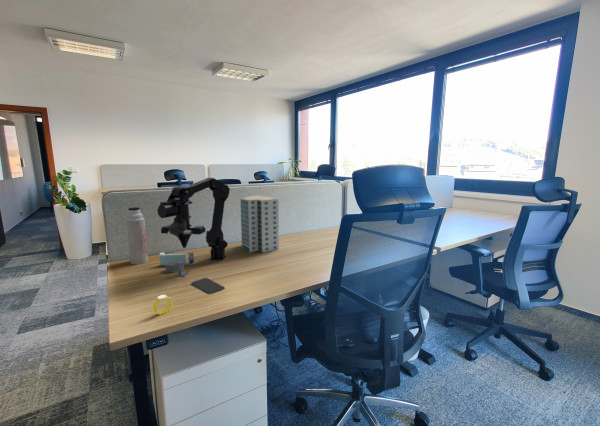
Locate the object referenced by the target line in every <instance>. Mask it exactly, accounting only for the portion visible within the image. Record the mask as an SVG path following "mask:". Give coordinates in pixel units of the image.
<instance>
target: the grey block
mask: <svg viewBox="0 0 600 426" xmlns="http://www.w3.org/2000/svg"><path fill="white" fill-rule="evenodd" d="M177 268H178V270H177V275H176V276H177V277H185V276H187V275H188V274H189V271H186V270H185V264H184V261H179V262H178V263H177Z"/></svg>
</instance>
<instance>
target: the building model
mask: <svg viewBox="0 0 600 426" xmlns="http://www.w3.org/2000/svg"><path fill="white" fill-rule="evenodd" d="M239 202H240V203H239V204H240V227H241V228H240V229H241V234H240V236H241V248H242V249H243V250H245V251H247V252H249V253H253V252H257V251H258V252H261V253H268V252H273V251H277V250H280V246H279V244H280V242H279V241H280V237H279V235H280V233H279V222H280V221H279V198H276V197H275V198H274V197H270V196H263V195H252V196H251V195H250V196H249V195H248V196H244V197H241V198H240V201H239Z"/></svg>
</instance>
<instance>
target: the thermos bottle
mask: <svg viewBox="0 0 600 426" xmlns="http://www.w3.org/2000/svg"><path fill="white" fill-rule="evenodd" d="M126 217H127V218H126V219H125V221H126V223H125V224H126V231H127V232H126V234H127V243H128V253H129V262H130V264H131V265H141V264H145V263H147V262H149V255H148V254H149V253H148V244H147V242H148V241H147V234H146V233H147V232H146V222H145V221H146V220H145V219H146V218H145V217H144V215H143V213H141V208H140V207H139V206H138V207H136V206H135V207H129V208H128V214H127V216H126Z"/></svg>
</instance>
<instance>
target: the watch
mask: <svg viewBox="0 0 600 426" xmlns="http://www.w3.org/2000/svg"><path fill="white" fill-rule="evenodd" d="M166 299H168V307H166V309H165V310H162V311H158V310H157V306H158V303H159V302H160V301H164V300H166ZM172 305H173V299H172V298H171V297H169V296H167V294H161V295H158V296H157V298H156V300H155V301H154V303H153V306H152V309H153V312H154V313H155V314H156V315H158V316H159V315H160V316H162V315H164V314H165V313H166V314H167V313H168V312H169V311H170V310H171V308H172Z"/></svg>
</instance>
